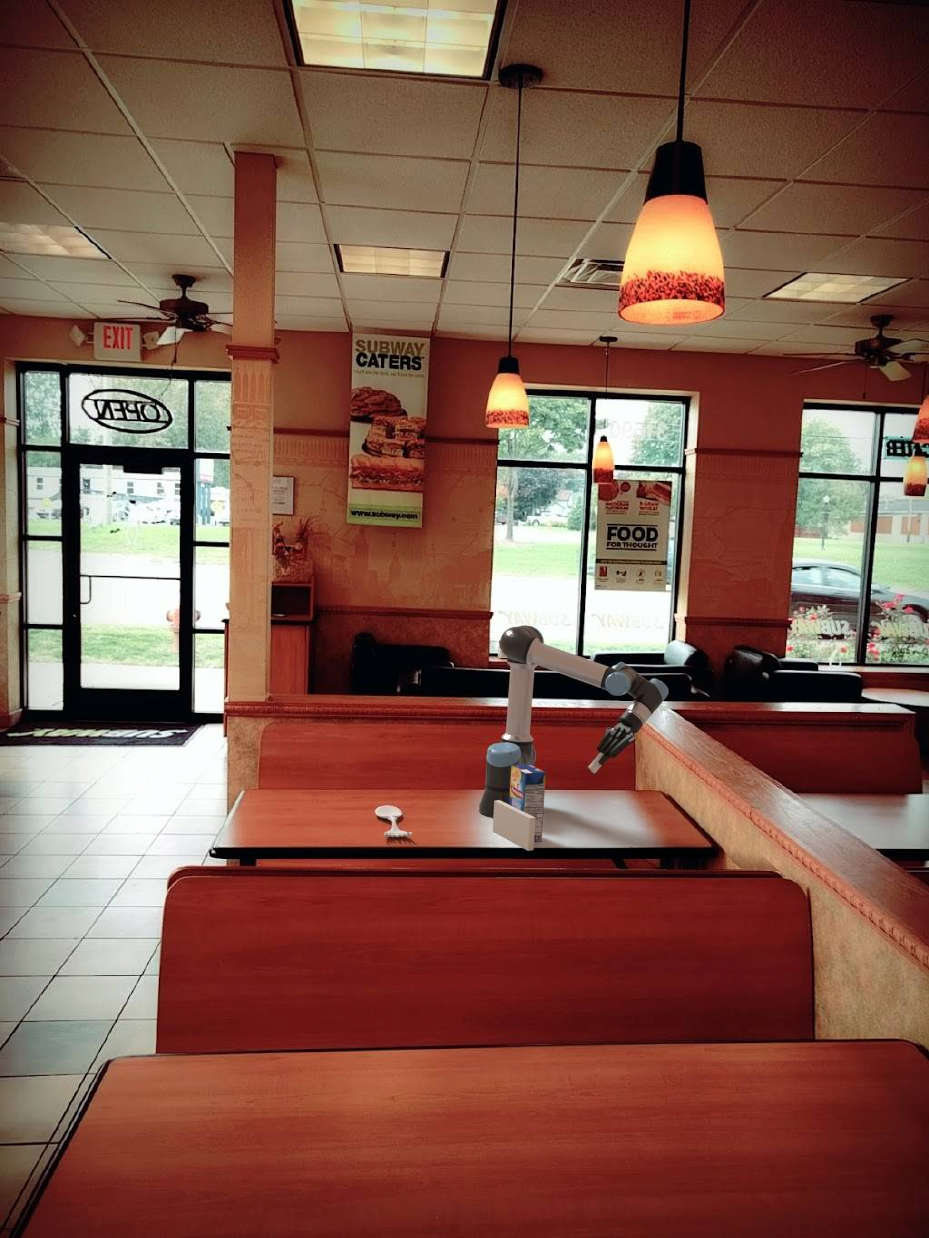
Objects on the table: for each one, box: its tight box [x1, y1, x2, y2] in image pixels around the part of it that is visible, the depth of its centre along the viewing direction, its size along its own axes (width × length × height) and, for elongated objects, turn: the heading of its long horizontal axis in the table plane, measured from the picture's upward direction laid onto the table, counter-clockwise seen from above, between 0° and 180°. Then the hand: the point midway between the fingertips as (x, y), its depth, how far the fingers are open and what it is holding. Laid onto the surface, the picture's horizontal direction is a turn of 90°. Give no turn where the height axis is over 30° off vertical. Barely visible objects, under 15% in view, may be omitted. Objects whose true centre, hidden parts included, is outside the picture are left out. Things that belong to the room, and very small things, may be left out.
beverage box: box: [509, 764, 547, 843], centre depth 265 cm, size 7×11×22 cm, turn 21°
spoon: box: [374, 804, 413, 838], centre depth 269 cm, size 9×32×4 cm, turn 12°
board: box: [492, 800, 535, 852], centre depth 261 cm, size 20×2×10 cm, turn 30°
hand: (591, 770), depth 273 cm, fingers closed
